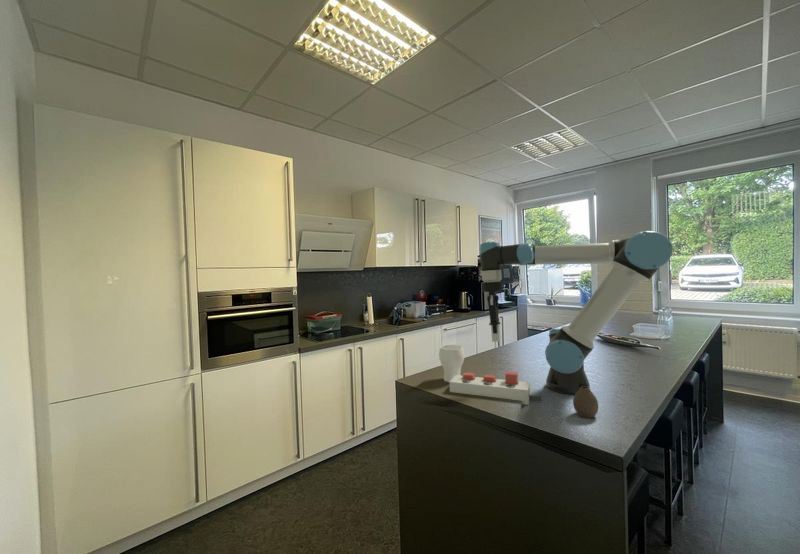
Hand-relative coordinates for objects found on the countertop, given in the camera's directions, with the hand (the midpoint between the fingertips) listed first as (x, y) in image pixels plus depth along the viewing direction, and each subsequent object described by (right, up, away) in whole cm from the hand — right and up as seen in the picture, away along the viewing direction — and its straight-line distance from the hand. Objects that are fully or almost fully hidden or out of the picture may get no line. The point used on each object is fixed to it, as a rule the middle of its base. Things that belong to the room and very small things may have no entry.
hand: (495, 341), depth 126 cm
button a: (+4, -14, -7) cm, 16 cm away
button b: (-3, -16, -3) cm, 17 cm away
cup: (-15, -20, +11) cm, 28 cm away
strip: (-2, -19, -6) cm, 20 cm away
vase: (+21, -19, -25) cm, 37 cm away
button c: (-11, -16, 0) cm, 19 cm away
